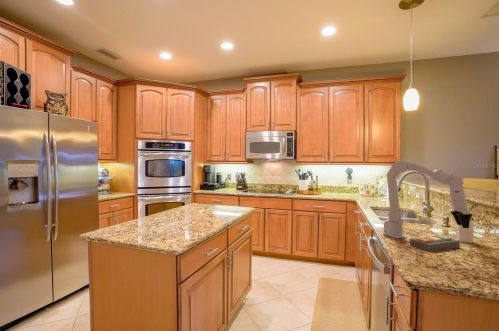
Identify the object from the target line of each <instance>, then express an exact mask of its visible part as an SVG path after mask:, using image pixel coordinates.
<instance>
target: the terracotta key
mask: <svg viewBox="0 0 499 331" xmlns="http://www.w3.org/2000/svg"><path fill="white" fill-rule="evenodd" d="M417 241H420V242H423V243H431V242H432V240H430V239H427V238H423V237H417Z"/></svg>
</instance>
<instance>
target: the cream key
mask: <svg viewBox="0 0 499 331" xmlns="http://www.w3.org/2000/svg"><path fill="white" fill-rule="evenodd" d="M426 237H427V239H430V240H432V241H434V242H440V241H442V239H440V238H437V237H433V236H426Z"/></svg>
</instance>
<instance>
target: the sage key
mask: <svg viewBox="0 0 499 331" xmlns="http://www.w3.org/2000/svg"><path fill="white" fill-rule="evenodd" d="M436 236H437V238H440V239H442V240H444V241H449V240H452V239H453V238H452V237H449V236H446V235H436Z"/></svg>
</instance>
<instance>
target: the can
mask: <svg viewBox="0 0 499 331" xmlns="http://www.w3.org/2000/svg"><path fill="white" fill-rule="evenodd" d="M456 226H457V232H456V233H457V241H460V243H465V244H473V243H474V222H473V219H470V223H469V228H463V226H462V225H457V224H456Z"/></svg>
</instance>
